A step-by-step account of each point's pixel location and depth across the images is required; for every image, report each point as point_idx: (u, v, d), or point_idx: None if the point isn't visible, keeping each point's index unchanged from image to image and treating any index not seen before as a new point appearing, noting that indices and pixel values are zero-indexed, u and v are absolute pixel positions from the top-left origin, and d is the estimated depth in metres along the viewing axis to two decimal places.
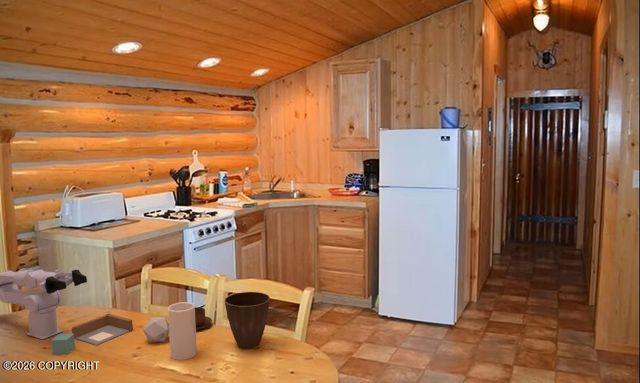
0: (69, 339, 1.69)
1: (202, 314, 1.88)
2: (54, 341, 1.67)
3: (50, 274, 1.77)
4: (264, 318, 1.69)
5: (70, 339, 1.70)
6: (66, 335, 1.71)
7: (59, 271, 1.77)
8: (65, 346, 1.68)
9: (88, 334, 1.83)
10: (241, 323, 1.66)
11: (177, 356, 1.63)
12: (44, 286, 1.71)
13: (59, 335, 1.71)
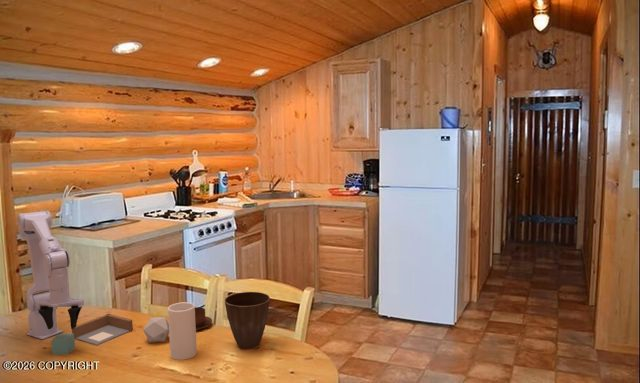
0: (69, 339, 1.69)
1: (202, 314, 1.88)
2: (54, 341, 1.67)
3: (51, 296, 1.66)
4: (264, 318, 1.69)
5: (70, 339, 1.70)
6: (66, 335, 1.71)
7: None
8: (65, 346, 1.68)
9: (88, 334, 1.83)
10: (241, 323, 1.66)
11: (177, 356, 1.63)
12: None
13: (59, 335, 1.71)
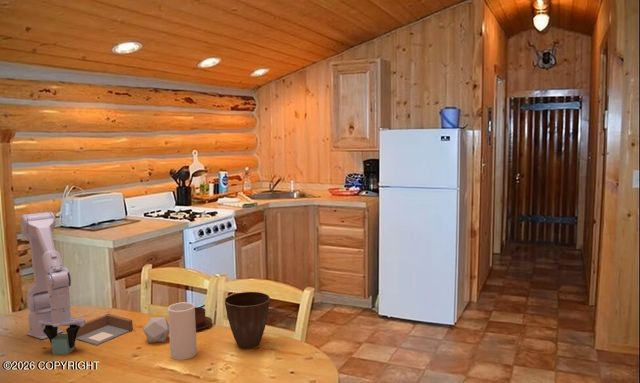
0: None
1: (202, 314, 1.88)
2: (54, 341, 1.67)
3: (53, 315, 1.66)
4: (264, 318, 1.69)
5: None
6: (66, 335, 1.71)
7: None
8: (65, 345, 1.68)
9: (88, 334, 1.83)
10: (241, 323, 1.66)
11: (177, 356, 1.63)
12: None
13: (59, 335, 1.71)
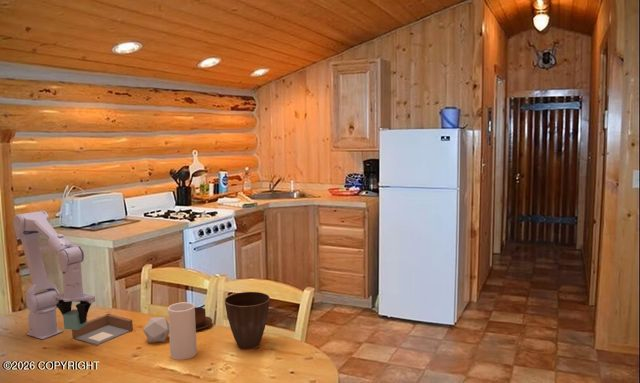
0: None
1: (202, 314, 1.88)
2: (65, 316, 1.71)
3: (64, 290, 1.69)
4: (264, 318, 1.69)
5: None
6: None
7: None
8: (75, 321, 1.70)
9: (88, 334, 1.83)
10: (241, 323, 1.66)
11: (177, 356, 1.63)
12: None
13: (72, 310, 1.74)
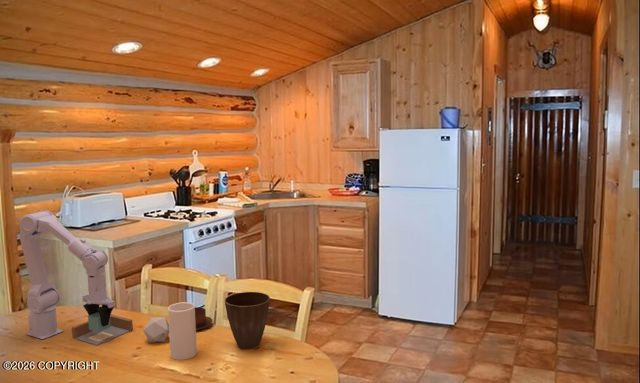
0: None
1: (203, 314, 1.88)
2: (89, 317, 1.78)
3: (89, 293, 1.77)
4: (264, 318, 1.69)
5: None
6: None
7: None
8: (97, 323, 1.77)
9: (88, 334, 1.83)
10: (241, 323, 1.66)
11: (177, 356, 1.63)
12: None
13: (98, 312, 1.82)
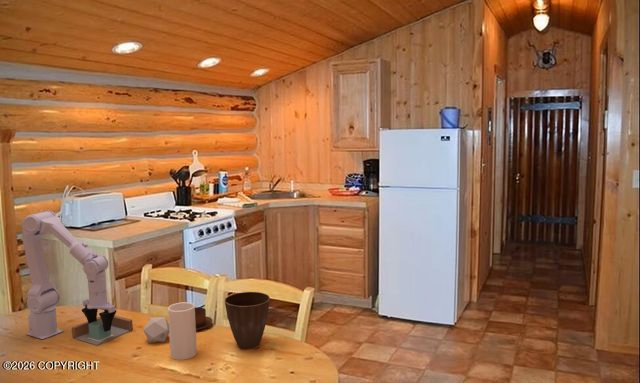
0: (102, 326, 1.78)
1: (203, 314, 1.88)
2: (90, 325, 1.79)
3: (89, 298, 1.77)
4: (264, 318, 1.69)
5: None
6: None
7: None
8: (97, 332, 1.77)
9: (88, 334, 1.83)
10: (241, 323, 1.66)
11: (177, 356, 1.63)
12: None
13: (99, 320, 1.82)
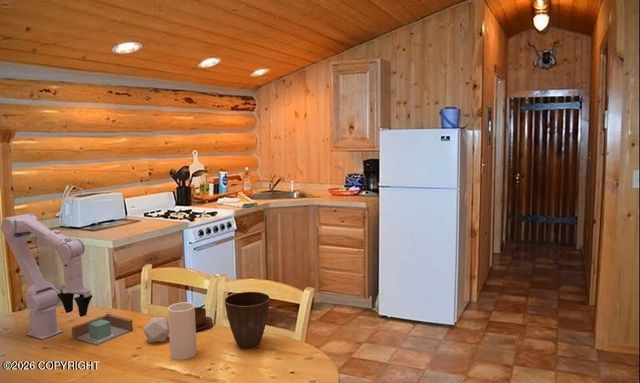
0: (102, 326, 1.78)
1: (203, 314, 1.88)
2: (90, 325, 1.79)
3: (64, 282, 1.75)
4: (264, 318, 1.69)
5: (103, 326, 1.79)
6: (103, 322, 1.81)
7: (65, 292, 1.74)
8: (97, 332, 1.77)
9: (88, 334, 1.83)
10: (241, 323, 1.66)
11: (177, 356, 1.63)
12: None
13: (99, 320, 1.82)
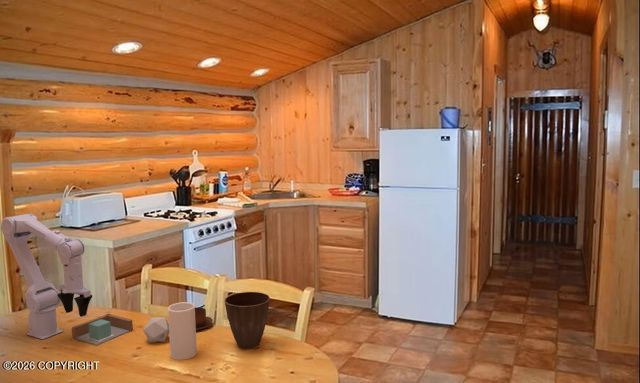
0: (102, 326, 1.78)
1: (203, 314, 1.88)
2: (90, 325, 1.79)
3: (64, 282, 1.75)
4: (264, 318, 1.69)
5: (103, 326, 1.79)
6: (103, 322, 1.81)
7: (65, 292, 1.74)
8: (97, 332, 1.77)
9: (88, 334, 1.83)
10: (241, 323, 1.66)
11: (177, 356, 1.63)
12: None
13: (99, 320, 1.82)
